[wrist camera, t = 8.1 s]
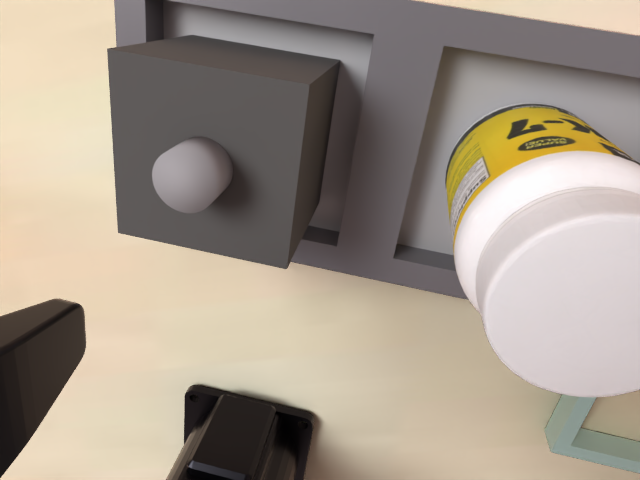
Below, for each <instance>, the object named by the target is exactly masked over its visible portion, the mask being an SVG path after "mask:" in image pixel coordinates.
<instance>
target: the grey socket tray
mask: <svg viewBox="0 0 640 480" xmlns="http://www.w3.org/2000/svg"><path fill="white" fill-rule="evenodd" d="M114 3H115V23H116V43H117V47H122V46H127V45H133V44H139V43H145V42H151V41H157V40H163V39H169V38H175V37H181V36H187V35H197V36H203V37H209V38H215V39H220V40H226V41H232V42H238V43H244V44H250V45H256V46H261V47H267V48H273V49H279V50H285V51H291V52H297V53H302V54H308V55H314V56H320V57H326V58H332V59H338V60H340V67H339V74H338V81H337V87H336V94H335V101H334V107H333V114H332V121H331V128H330V134H329V141H328V148H327V154H326V161H325V168H324V175H323V181H322V188H321V195H320V201H319V204H318V206H317V208H316V210H315V212H314V215H313V217H312V219H311V221H310V223H309V225H308V227H307V229H306V231H305V233H304V235H303V237H302V239H301V241H300V243H299V245H298V247H297V249H296V251H295V253H294V255H293V257H292V259H291V261H290V262H294V263H299V264H304V265H308V266H313V267H318V268H322V269H327V270H332V271H336V272H341V273H346V274H350V275H355V276H360V277H364V278H369V279H374V280H378V281H383V282H388V283H393V284H397V285H402V286H407V287H411V288H416V289H421V290H425V291H430V292H435V293H439V294H444V295H449V296H453V297H458V298H463V299H467V300H469V299H468V298H467V296H466V294H465V293H464V291H463V289H462V286H461V284H460V281H459V278H458V275H457V272H456V267H455V262H454V254H453V245H452V236H451V230H450V220H449V212H448V203H447V193H446V185H445V177H446V167H447V163H448V160H449V157H450V154H451V152H452V150H453V148H454V146H455V144H456V142H457V141H458V139H459V138H460V137H461V135H462V134H463V133H464V132H465V131H466V130H467V129H468V127H470V126H471V125H472V124H473V123H474V122H475V121H477V120H478V119H479V118H481V117H482V116H484V115H485V114H487V113H489V112H491V111H493V110H496V109H498V108H500V107H504V106H507V105H511V104H518V103H544V104H549V105H554V106H557V107H560V108H562V109H565V110H567V111H569V112H571V113H573V114H574V115H576V116H577V117H579V118H580V119H581V120H583V121H584V122H586V123H587V124H588V125H589V126H590V127H592V128H593V129H594V130H595V131H597V132H598V133H599V134H601V135H602V136H604V137H605V138H606V139H607V140H609V141H610V142H612V143H613V144H615V145H616V146H617V147H618V148H620V149H621V150H622V151H623V152H625V153H626V154H627V155H629V156H630V157H631V158H633V159H634V160H635V161H637V162H639V163H640V35H633V34H627V33H621V32H614V31H608V30H601V29H595V28H589V27H582V26H576V25H569V24H563V23H557V22H550V21H544V20H537V19H531V18H525V17H518V16H512V15H505V14H499V13H493V12H486V11H480V10H473V9H467V8H461V7H454V6H448V5H442V4H435V3H429V2H422V1H416V0H114Z"/></svg>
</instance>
